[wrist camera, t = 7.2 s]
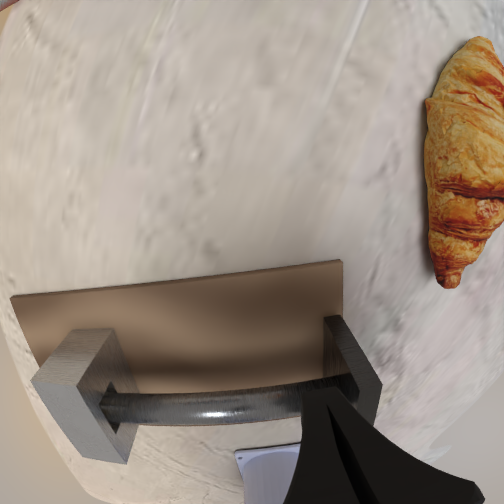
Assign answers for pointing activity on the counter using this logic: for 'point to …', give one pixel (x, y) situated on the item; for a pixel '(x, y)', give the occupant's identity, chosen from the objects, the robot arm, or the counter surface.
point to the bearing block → (88, 392)
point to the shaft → (258, 392)
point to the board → (201, 326)
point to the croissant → (465, 158)
